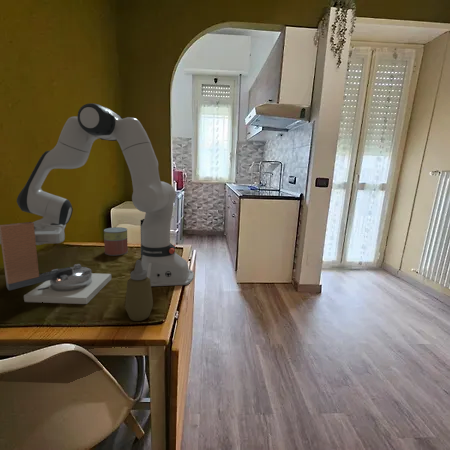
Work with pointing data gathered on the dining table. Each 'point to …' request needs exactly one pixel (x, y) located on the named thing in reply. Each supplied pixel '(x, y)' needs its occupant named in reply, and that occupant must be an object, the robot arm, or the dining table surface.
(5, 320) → the dining table surface
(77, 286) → the silver brown l-shaped piece
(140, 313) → the squeeze bottle
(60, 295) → the white square board
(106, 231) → the canned food
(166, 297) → the dining table surface
